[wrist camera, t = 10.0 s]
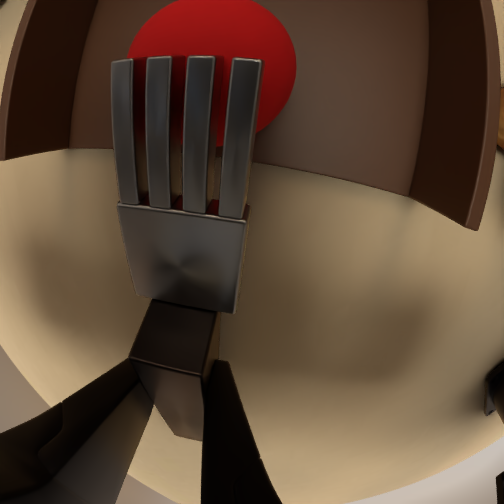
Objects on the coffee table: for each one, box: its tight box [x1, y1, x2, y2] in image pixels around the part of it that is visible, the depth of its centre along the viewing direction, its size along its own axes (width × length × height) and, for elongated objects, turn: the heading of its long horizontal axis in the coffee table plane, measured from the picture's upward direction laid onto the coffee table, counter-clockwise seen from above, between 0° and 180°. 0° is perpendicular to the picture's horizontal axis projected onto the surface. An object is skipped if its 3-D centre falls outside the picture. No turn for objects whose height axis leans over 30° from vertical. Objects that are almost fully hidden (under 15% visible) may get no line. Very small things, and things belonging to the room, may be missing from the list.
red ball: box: [127, 0, 297, 147], centre depth 5 cm, size 4×4×4 cm
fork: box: [111, 55, 265, 441], centre depth 7 cm, size 13×2×2 cm, turn 172°
